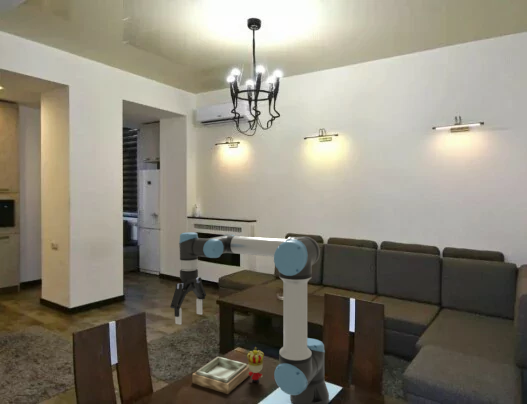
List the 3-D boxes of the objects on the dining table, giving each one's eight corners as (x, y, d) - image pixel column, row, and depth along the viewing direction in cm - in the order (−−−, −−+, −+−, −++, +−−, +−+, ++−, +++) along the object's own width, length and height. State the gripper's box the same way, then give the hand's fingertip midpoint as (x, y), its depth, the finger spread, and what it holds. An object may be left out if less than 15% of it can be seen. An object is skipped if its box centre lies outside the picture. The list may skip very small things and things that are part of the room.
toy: (265, 378, 157) (265, 344, 157) (261, 386, 150) (261, 351, 150) (250, 376, 159) (250, 342, 159) (245, 384, 152) (244, 349, 152)
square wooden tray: (250, 374, 161) (250, 363, 161) (227, 394, 145) (227, 382, 145) (217, 365, 169) (217, 355, 169) (192, 383, 153) (192, 371, 153)
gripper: (200, 263, 165) (200, 309, 166) (160, 274, 143) (161, 326, 144) (213, 264, 162) (214, 311, 162) (175, 276, 140) (175, 330, 140)
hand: (189, 318), depth 153 cm, fingers open, 13 cm apart
